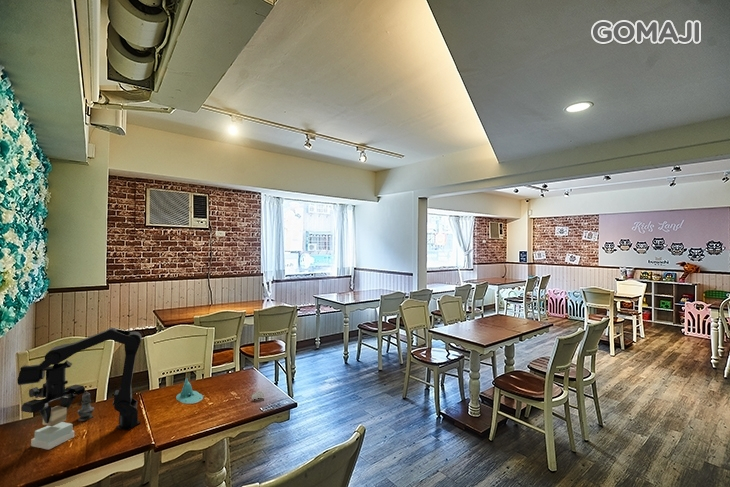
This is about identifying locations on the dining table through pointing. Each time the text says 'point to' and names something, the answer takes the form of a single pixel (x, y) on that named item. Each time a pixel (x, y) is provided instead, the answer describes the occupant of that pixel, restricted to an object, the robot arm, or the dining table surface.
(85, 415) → the grey stone pagoda
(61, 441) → the tower base block
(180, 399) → the teal witch hat
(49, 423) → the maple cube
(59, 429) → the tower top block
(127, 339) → the robot arm
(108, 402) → the dining table surface
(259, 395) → the car cutout
